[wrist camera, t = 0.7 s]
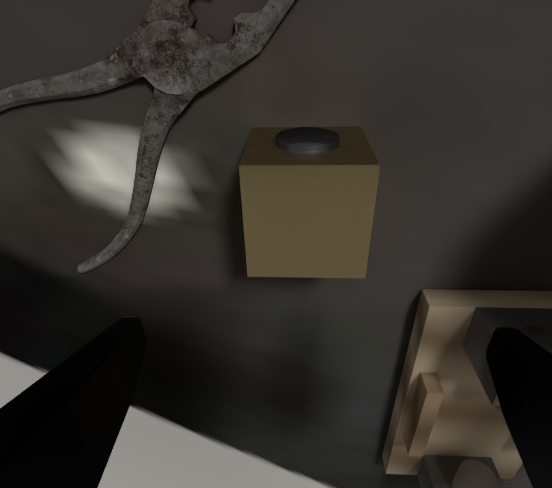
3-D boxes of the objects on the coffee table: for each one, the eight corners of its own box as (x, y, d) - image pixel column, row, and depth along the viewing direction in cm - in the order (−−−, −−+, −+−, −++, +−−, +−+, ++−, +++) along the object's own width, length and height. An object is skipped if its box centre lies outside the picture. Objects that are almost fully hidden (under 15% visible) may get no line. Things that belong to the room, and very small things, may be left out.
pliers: (-73, 191, 20) (75, -298, 11) (-60, 184, 20) (89, -279, 12) (97, 286, 23) (324, -36, 14) (104, 277, 23) (323, -34, 14)
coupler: (361, 119, 17) (381, 156, 13) (350, 225, 20) (364, 283, 16) (252, 120, 17) (238, 157, 13) (258, 225, 20) (248, 282, 16)
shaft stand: (421, 289, 22) (455, 364, 17) (599, 291, 22) (681, 369, 17) (382, 455, 32) (396, 532, 27) (504, 459, 31) (540, 538, 27)
